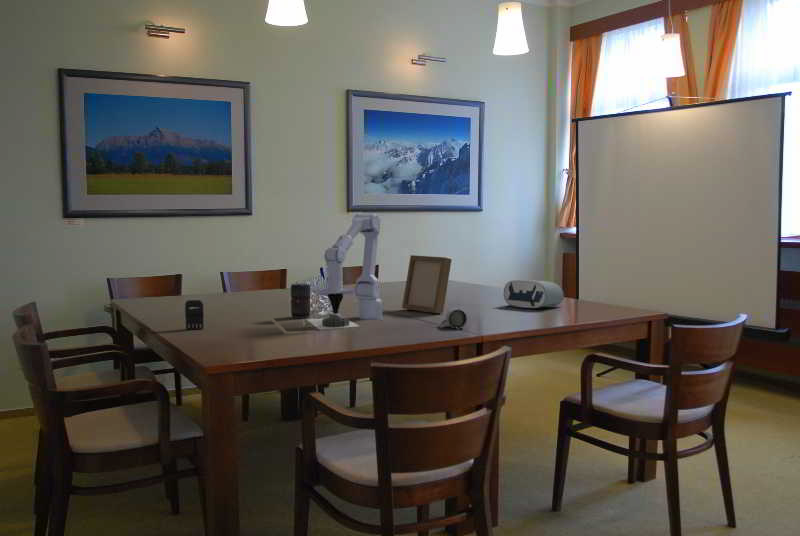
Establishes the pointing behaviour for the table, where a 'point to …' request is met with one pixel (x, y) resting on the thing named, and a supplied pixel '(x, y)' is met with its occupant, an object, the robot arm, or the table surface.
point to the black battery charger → (194, 314)
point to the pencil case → (532, 294)
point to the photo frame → (426, 283)
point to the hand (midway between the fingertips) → (335, 313)
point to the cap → (335, 317)
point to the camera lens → (300, 301)
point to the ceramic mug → (454, 319)
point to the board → (333, 324)
